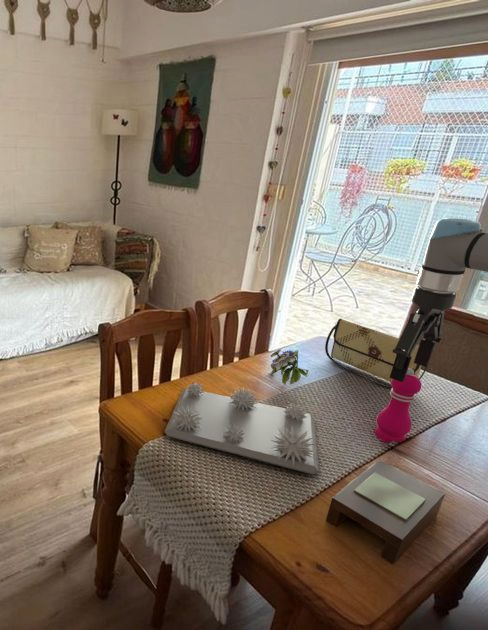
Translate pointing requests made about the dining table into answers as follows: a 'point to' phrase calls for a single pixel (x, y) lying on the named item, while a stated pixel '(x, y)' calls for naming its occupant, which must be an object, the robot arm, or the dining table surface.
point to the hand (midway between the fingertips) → (408, 372)
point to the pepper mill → (398, 409)
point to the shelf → (388, 506)
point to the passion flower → (283, 362)
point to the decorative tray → (246, 428)
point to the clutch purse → (366, 350)
